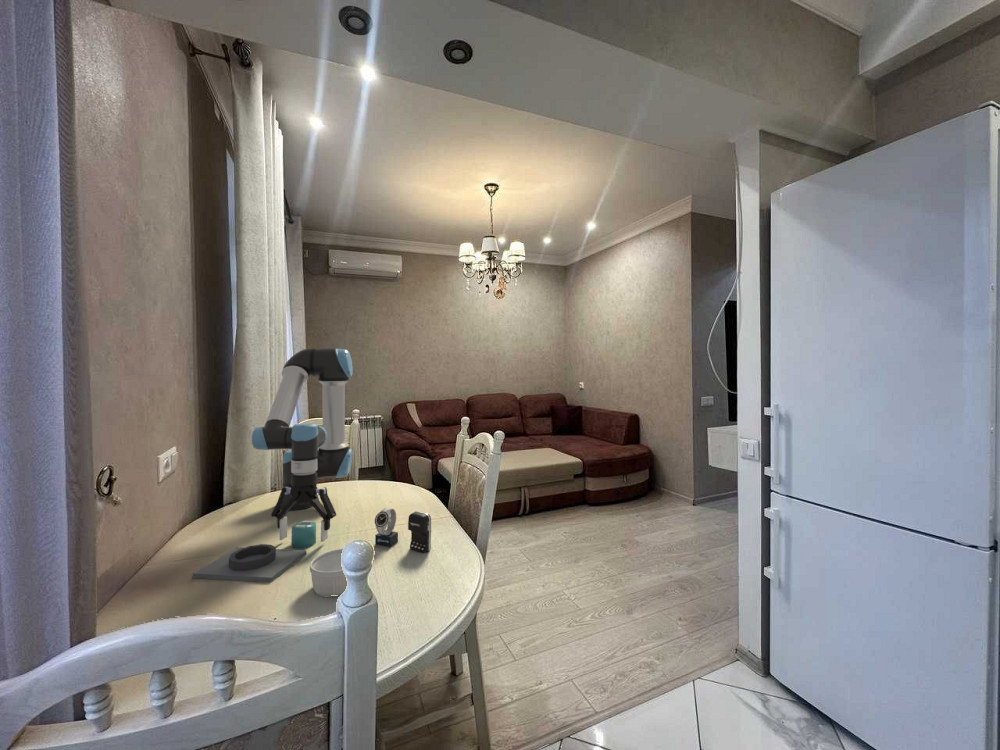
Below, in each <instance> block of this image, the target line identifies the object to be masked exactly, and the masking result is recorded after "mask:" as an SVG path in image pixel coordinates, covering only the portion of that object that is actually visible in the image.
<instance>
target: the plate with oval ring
mask: <svg viewBox="0 0 1000 750" xmlns="http://www.w3.org/2000/svg"><path fill="white" fill-rule="evenodd" d="M306 555H307V550H303V549H287V548H286V549H284V548H283V549H282V548H281V549H279V548H277V547H276V546H274V545H273V544H267V543H264V544H262V543H260V544H254V545H248V546H245V547H242V546H241V547H239V546H237V547H235V548H234V549H232V550H230V551H228V552H226V553H225V554H223V555H221V556H220V557H218V558H216V559H214V560H213V561H211V562H209V563H208V564H206V565H205V566H203V567H201V568H199V569H197V570H196V571H194V572H193V573H192V574H191V575H192V577H191V578H192V579H207V580H220V581H221V580H224V581H225V580H226V581H241V582H243V581H244V582H260V583H262V582H264V583H272V582H274V581H275V580H276V579H277V578H279V577H280V576H281V575H283V574H284V573H285V572H287V570H289V569H290V568H291V567H293V566H294V565H295V564H296V563H298V562H299V561H300V560H301V559H303V558H304V557H305V556H306Z"/></svg>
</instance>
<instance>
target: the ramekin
mask: <svg viewBox="0 0 1000 750" xmlns="http://www.w3.org/2000/svg"><path fill="white" fill-rule="evenodd" d="M343 549H344V548H337V549H331V550H329V551H326V552H323V553H321V554H319V555H318V556H316V557H314V558H313V559H312V560H311V562H310V563H309V572H310V574H311V581H312V587H313V590H314V592H315V593H317V595H318V596H320V597H323V596H331V595H338V597H341V596H340V595H341V594H342V593H343V592H344V591H345V589H346V586H347V581H346V577H345V575H344V573H343V570H342V567H341V553H342V550H343Z"/></svg>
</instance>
